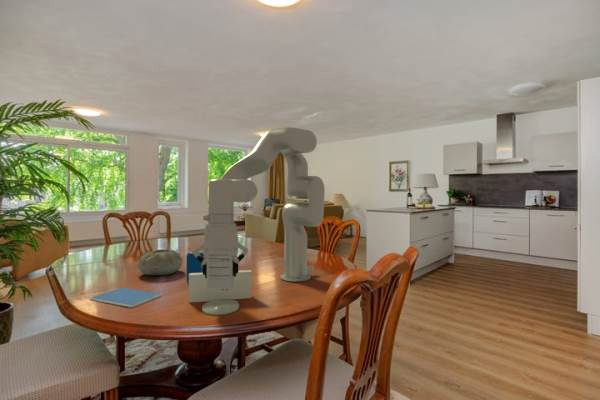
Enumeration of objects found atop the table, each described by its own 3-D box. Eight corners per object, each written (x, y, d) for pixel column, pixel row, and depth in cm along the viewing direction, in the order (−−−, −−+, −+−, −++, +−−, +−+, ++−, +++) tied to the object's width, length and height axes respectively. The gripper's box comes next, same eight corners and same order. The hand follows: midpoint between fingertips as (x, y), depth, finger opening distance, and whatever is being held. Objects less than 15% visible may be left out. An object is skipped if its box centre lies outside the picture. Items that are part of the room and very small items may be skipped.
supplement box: (210, 285, 99) (211, 245, 98) (234, 285, 99) (234, 245, 99) (205, 292, 91) (206, 250, 91) (231, 292, 92) (231, 250, 92)
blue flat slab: (88, 301, 102) (88, 297, 102) (122, 290, 113) (122, 286, 113) (131, 310, 95) (131, 306, 95) (163, 297, 106) (163, 293, 106)
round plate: (226, 299, 103) (226, 296, 103) (246, 308, 96) (246, 305, 96) (195, 307, 96) (195, 305, 96) (213, 318, 88) (213, 315, 88)
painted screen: (188, 302, 100) (188, 274, 100) (189, 300, 102) (189, 273, 102) (251, 297, 105) (251, 271, 105) (250, 296, 107) (250, 270, 107)
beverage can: (198, 285, 119) (198, 253, 118) (183, 283, 120) (183, 253, 120) (206, 280, 125) (206, 250, 125) (192, 279, 126) (192, 250, 126)
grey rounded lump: (171, 279, 125) (171, 255, 125) (128, 279, 126) (128, 254, 125) (188, 268, 143) (188, 247, 143) (150, 268, 144) (150, 246, 143)
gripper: (189, 220, 89) (189, 281, 90) (250, 220, 93) (250, 278, 94) (192, 218, 96) (192, 274, 97) (248, 218, 101) (248, 271, 101)
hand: (220, 275), depth 95 cm, fingers closed on supplement box, 8 cm apart
